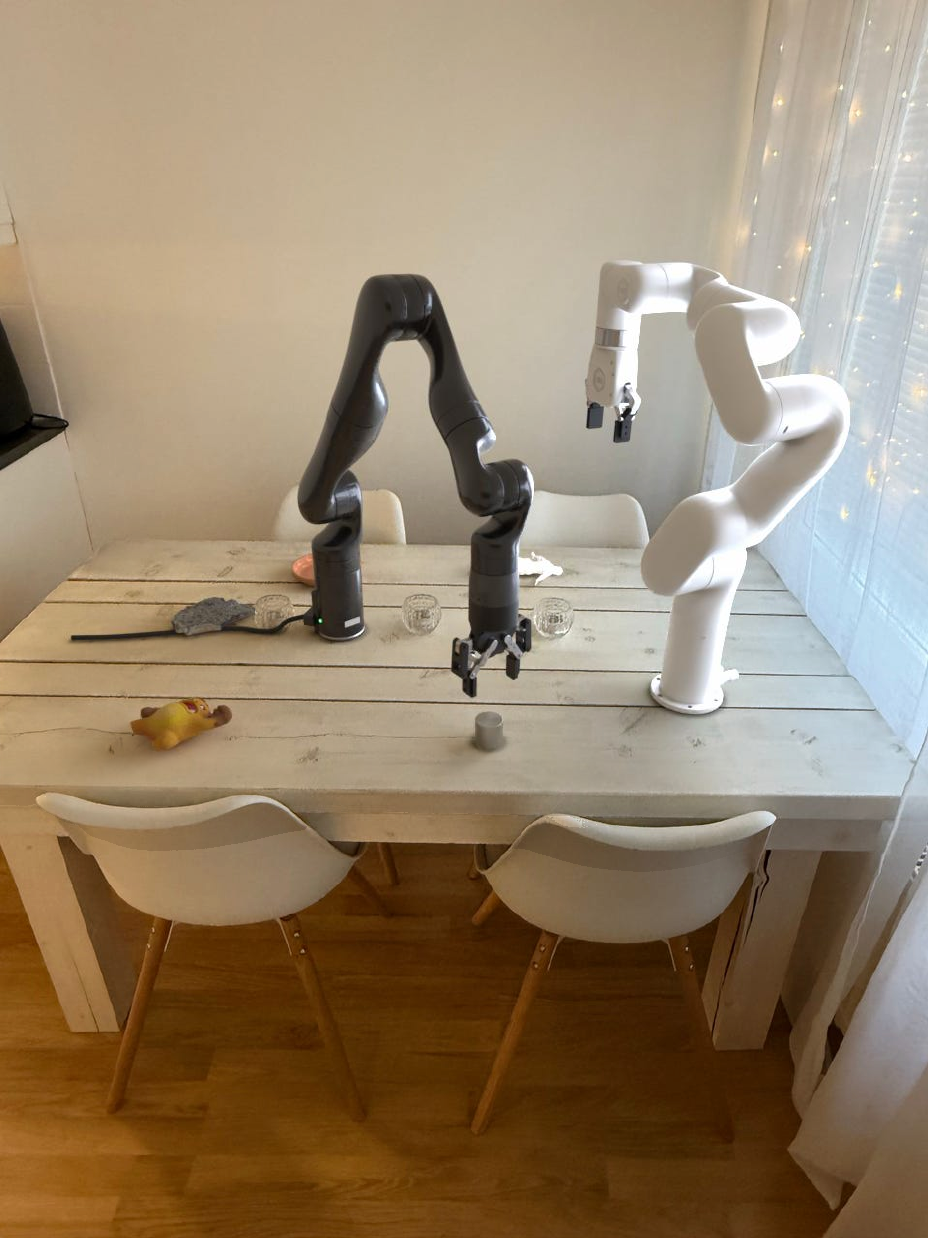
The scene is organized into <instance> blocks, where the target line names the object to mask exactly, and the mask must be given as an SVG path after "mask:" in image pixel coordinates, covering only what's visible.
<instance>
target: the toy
mask: <svg viewBox="0 0 928 1238" xmlns="http://www.w3.org/2000/svg"><path fill="white" fill-rule="evenodd" d="M140 717H141V718H139V719H134V720H131V721H130V722H129V724H130V728H131V731H132V732H133V734H136V735H138V736H144V737H146V738H147V739H149V740H150V741H151V742H152V743H151V746H152V749H153V750H154V751H166V750H170V749H172V748H174V747H176V746H177V745H178V744H180V743H181V742H183V741H184V742H185V741H186V740H190V739H192V738H194V737H196V736H198V735H199V734H200V733H202V732H204V731H210V730H214V729H217V728H220V727H222V726H224V725H227V724H228V723H230V722H231V720H232V718H233V712H232V710H231V708H230V706H227V705H225V704H219V705H217V706H216V708H214V709H213V711H212V712H211V707H210V706H209V704H208V703H207V701H206V700H205V699H203V698H201V697H196V698H195V697H188V698H186V699H181V700H179V701H175V702H171V703H167V704H165V705H163V706H160V707H159V706H158V707H155V706H154V707H151V706H145V707H142V708H141V709H140Z"/></svg>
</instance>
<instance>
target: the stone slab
mask: <svg viewBox="0 0 928 1238" xmlns="http://www.w3.org/2000/svg"><path fill="white" fill-rule="evenodd" d="M255 610H256V607H255V606H253V605H252V604H246V603H243V604H241V603H239V601H237V600H236V599H232V598H231V599H228V600H226V599H225V598H224V597H217V596H212V597H208V598H203V600H200V601H198V602H196V603H195V604H193V605H186V606H185V607H184V608H183V609H180V610H179V611H178V612H177V613H176V614H174V615H173V617H172V619H171V621H170V623H171V626H173V629H174V630H175V632H177V633H183V634H182V635H184V636H186V637H187V636H194V635H197V634H201V633H208V632H207V631H216V632H219V631H218V630H221V629H222V628H223V627H224V626H230V624H232V623H233V622H236V621H239V620H245V619H246V618H248V617H252V616H255V615H256V614H255Z"/></svg>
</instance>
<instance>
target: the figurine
mask: <svg viewBox="0 0 928 1238" xmlns="http://www.w3.org/2000/svg"><path fill="white" fill-rule="evenodd" d="M532 559H534V560H535V561H532ZM518 567H519V576H520V575H522V576H523V575H527V576H529V575H532V574H540V575H539V577H537V578H536V579H535V582H534V586H536V585H537V584H538V582H539V581H543V580H545V579H546V578H547V577H549V576H552V575H555V576H560V575H561V574H562V573H563V568H562V567H561V566H555V565H553V564H552V563H551V562H550V561H549V560H548V559H546V558H545V557H543V556H541V555H535V553H534V551H531V553H530V558H528V557H527V558H526V557H525V558H522V557H520V556H519V566H518Z"/></svg>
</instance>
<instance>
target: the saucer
mask: <svg viewBox="0 0 928 1238" xmlns="http://www.w3.org/2000/svg"><path fill="white" fill-rule="evenodd" d="M361 566H362V563H361ZM290 572H291V575H292V576H293V577H294V578H295V579H297V580H298V581H299V582H301V583H302V584H304V585H306V586H308V587H312V588H313V587H314V588H315V582H314V570H313V559H312V552H311V553H308V554H305V555H302V556H300V557H298V558H296V559H294V561H293V562H292V563H291V565H290Z"/></svg>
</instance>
